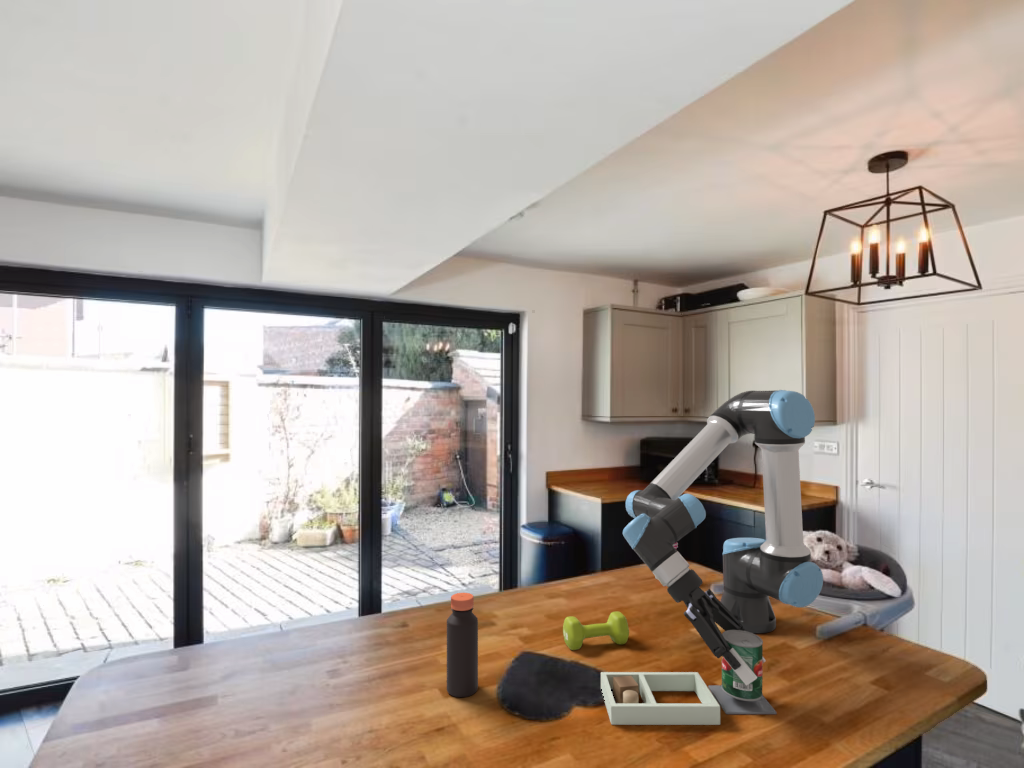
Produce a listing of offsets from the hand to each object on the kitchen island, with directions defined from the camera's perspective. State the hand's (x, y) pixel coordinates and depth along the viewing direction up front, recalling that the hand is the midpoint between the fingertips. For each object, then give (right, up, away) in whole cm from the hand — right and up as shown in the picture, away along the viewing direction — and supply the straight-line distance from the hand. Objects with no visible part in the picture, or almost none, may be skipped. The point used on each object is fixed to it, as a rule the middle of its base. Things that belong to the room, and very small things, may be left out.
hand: (756, 672), depth 112 cm
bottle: (-61, -7, +6) cm, 62 cm away
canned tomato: (-2, -5, +1) cm, 6 cm away
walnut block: (-26, -7, +2) cm, 27 cm away
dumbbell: (-29, -8, +28) cm, 41 cm away
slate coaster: (-2, -7, +2) cm, 7 cm away
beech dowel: (-26, -7, -3) cm, 27 cm away
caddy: (-20, -7, 0) cm, 21 cm away
